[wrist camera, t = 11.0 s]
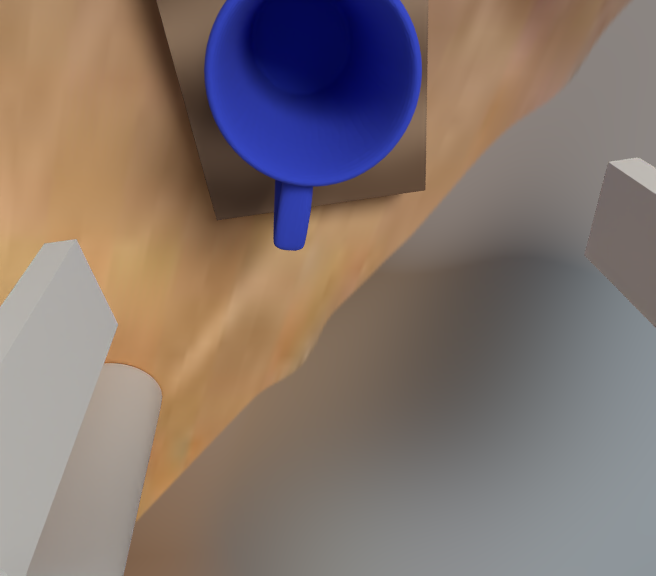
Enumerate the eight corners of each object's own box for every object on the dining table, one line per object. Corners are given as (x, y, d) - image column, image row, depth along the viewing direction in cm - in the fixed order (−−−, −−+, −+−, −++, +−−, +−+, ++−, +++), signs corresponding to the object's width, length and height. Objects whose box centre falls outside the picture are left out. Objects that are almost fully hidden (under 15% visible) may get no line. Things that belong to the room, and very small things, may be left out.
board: (148, -81, 25) (133, -83, 22) (412, -116, 26) (430, -122, 23) (220, 197, 35) (216, 220, 32) (412, 169, 35) (425, 190, 32)
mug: (217, 169, 30) (199, 255, 22) (227, -70, 23) (206, -71, 15) (345, 185, 31) (373, 271, 23) (391, -35, 25) (452, -19, 17)
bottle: (171, 416, 48) (75, 902, 24) (87, 424, 47) (-98, 930, 23) (152, 357, 43) (9, 891, 19) (58, 365, 43) (-211, 926, 19)
